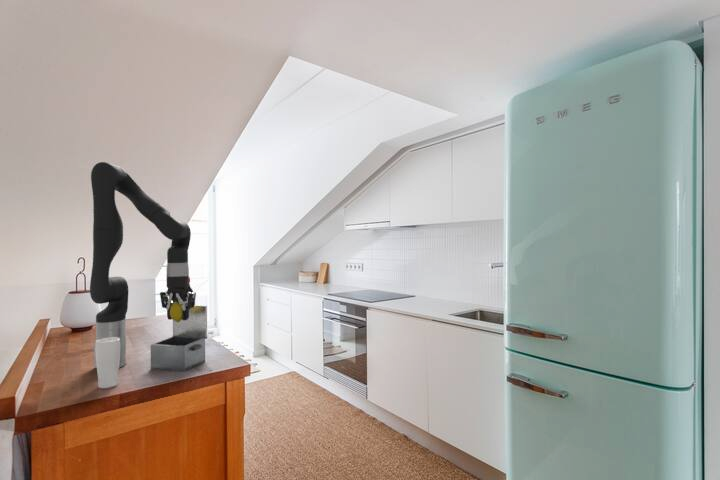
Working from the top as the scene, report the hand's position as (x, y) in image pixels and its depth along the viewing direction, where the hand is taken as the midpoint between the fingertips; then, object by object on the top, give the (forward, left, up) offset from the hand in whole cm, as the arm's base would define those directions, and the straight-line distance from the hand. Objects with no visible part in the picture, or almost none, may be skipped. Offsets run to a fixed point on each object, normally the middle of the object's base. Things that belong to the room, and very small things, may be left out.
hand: (178, 319), depth 141 cm
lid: (0, +6, -2) cm, 7 cm away
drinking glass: (-9, -22, -17) cm, 29 cm away
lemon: (0, 0, -1) cm, 1 cm away
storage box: (0, 0, -17) cm, 17 cm away
